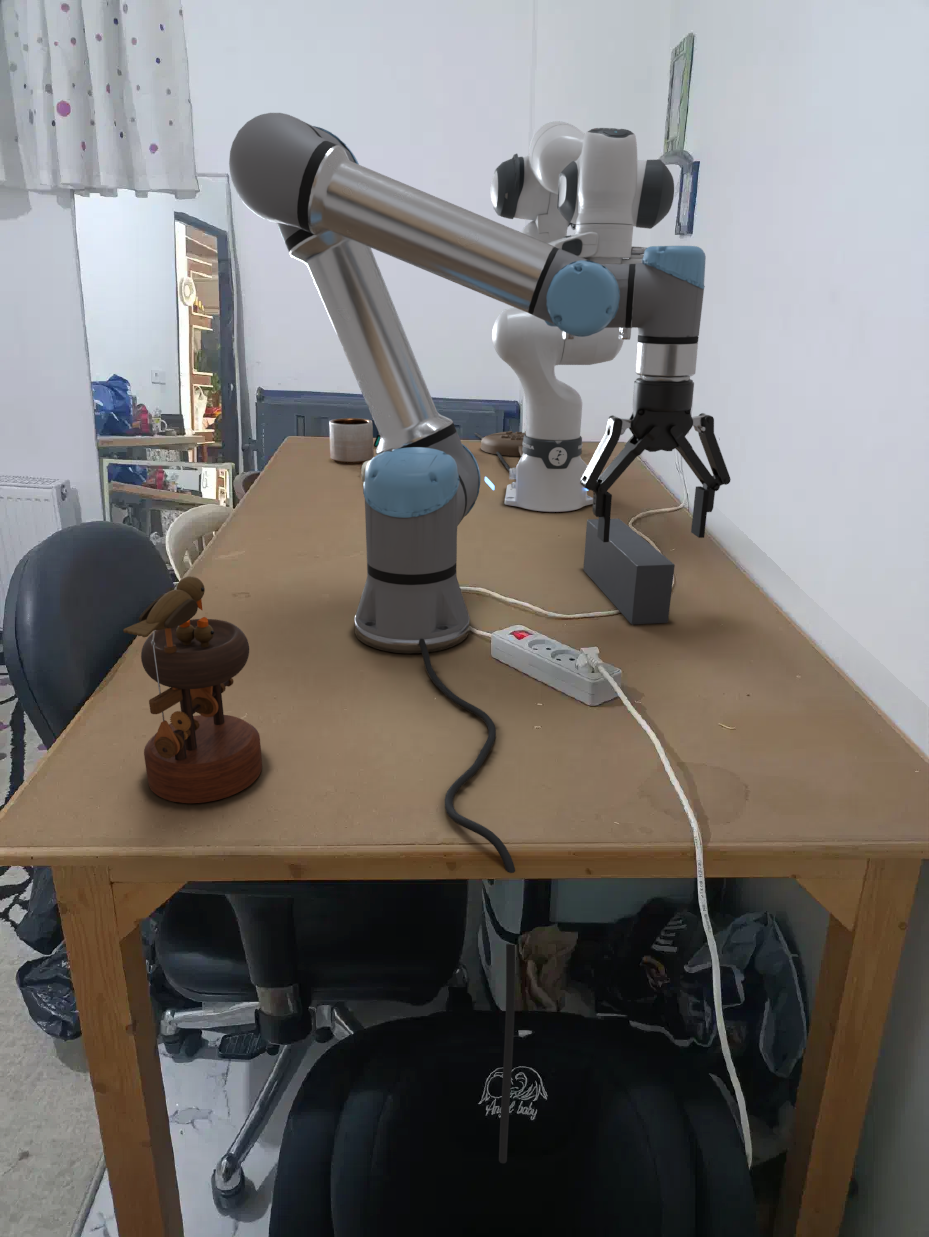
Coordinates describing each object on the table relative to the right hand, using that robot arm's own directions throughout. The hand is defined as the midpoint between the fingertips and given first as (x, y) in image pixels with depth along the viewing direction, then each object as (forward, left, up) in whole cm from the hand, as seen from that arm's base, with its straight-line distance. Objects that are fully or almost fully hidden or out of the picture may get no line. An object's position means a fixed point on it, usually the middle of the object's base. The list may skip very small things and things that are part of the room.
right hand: (596, 339), depth 137 cm
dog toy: (-49, -29, -35) cm, 67 cm away
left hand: (+32, +1, -24) cm, 40 cm away
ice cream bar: (-80, +3, -35) cm, 87 cm away
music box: (+69, -53, -35) cm, 94 cm away
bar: (+24, 0, -35) cm, 43 cm away
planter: (-75, -42, -35) cm, 92 cm away
